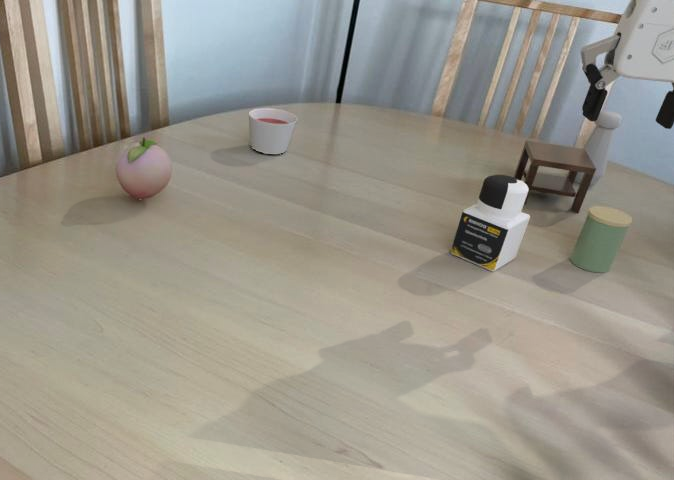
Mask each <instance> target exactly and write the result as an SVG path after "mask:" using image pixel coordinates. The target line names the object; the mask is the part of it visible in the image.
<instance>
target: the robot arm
mask: <svg viewBox="0 0 674 480" xmlns="http://www.w3.org/2000/svg"><path fill="white" fill-rule="evenodd" d="M602 54H605V56H604V60H603V65H602V66H601V67H599V68H598V66H597V63H596V62H597V57H598V56H599V55H602ZM580 57H581V64H582V71H583V73H584V75H585V76H586V79H587V82H588V84H590V85H589V86H588V90H587V93H586V95H585V98H584V100H583V104H582V107H581V110H582V116H583V117H584V118H585V119H587V120H588V121H589V122H595V121H596V120H597V119H598V117H599V114H600V112H601V111H602V109H603V106H604V104H605V101H606V98H607V95H608V92H609V91H608V90H607V89H606V87H607V86H609V85H610V84H611V83H612V82H614V81H615V80H616V79H618V78H620V76H621V77H623V78H627V79H634V80H643V81H645V80H646V81H653V82H664V83H671V85H672V90H668V92H666V94H665V96H664V99H663V100H662V104H661V106H660V108H659V110H658V113H657V115H656V117H655V122H656V123H657V124H658V125H660V126H661V127H663V128H664V129H666V130H668V129H669V130H671V129H673V126H674V0H630V1H629V2H628V4H627V6H626V7H625V10H624V11H623V13H622V16H621V17H620V19H619V22H618V24H617V25H616V28H615V30H614V33H613V35H612V36H609V37H607V38H603V39H601V40H598V41H596V42H592V43H590V44H588V45H584V46H583V47H582V48H581V49H580Z"/></svg>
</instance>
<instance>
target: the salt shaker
mask: <svg viewBox="0 0 674 480" xmlns="http://www.w3.org/2000/svg"><path fill="white" fill-rule="evenodd" d="M622 120H623V117H622V115H621V114H620V113H618V112H615V111H612V110H601V111H600V114H599V117H598V119H597V120H596V121H594V124H595V127H594V128H593V130H592V132H591V133H590V135H589V136H588V138H587V140H586V141H585V143H584V145H583V146H582V148H581V149H585V151H586V152H587V154H588V156H589V157H590V159H591V161H592V162H593V164H594V166H595V167H596V171H595V173H594V176H593V178H592V181H591V183H590V186H595V184H596V183H598V182H599V181H600V180H601V179H602V178H604V176H605V175H606V171H607V165H608V160H609V157H610V151H611V148H612V142H613V138H614V134H615V130H617V129H619V128H620V126H621V124H622ZM583 175H584V173H583V172H578V173H577V175H576V178H575V181H574V183H577V184H580V183H581V180H582V178H583Z"/></svg>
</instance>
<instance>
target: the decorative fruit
mask: <svg viewBox="0 0 674 480" xmlns="http://www.w3.org/2000/svg"><path fill="white" fill-rule="evenodd" d="M172 166H173V165H172V161H171V158H170V156H169V155H168V153H167V152H166V150H164V149H163V148H161V147H160V146H159V145H157V142H156V141H155V140H151V139H147V138H146V137H142V140H140V141H138V142H135V143H132V144H130V145H128V146H127V147H126V148H125V149H124V152H123V153H122V154H121V156H120V157H119V158H118V160H117V163H116V164H115V175H116V180H117V181H118V184H119V185H120V187H121V188H122V189H123V191H124V192H125V193H126V194H127V195H129V196H130V197H131V198H134V199H136V198H137V199H136V200H138V199H143V200H146V199H150V198H153V197H154V196H156V195H158V194H159V193H160V192H162V191H164V189H166V187H167V186H168V184H169V182H170V180H171V178H172V173H173V172H172V171H173V169H172V168H173V167H172Z"/></svg>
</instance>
